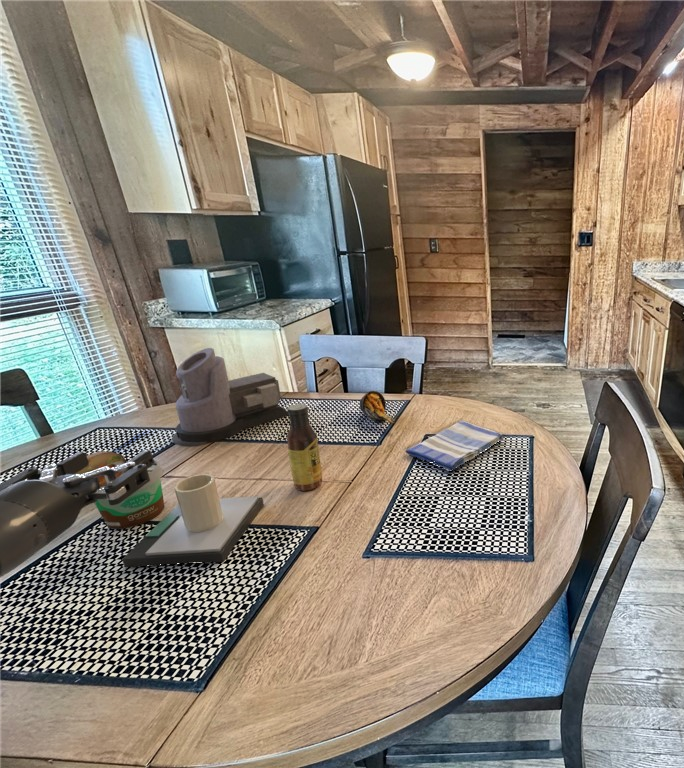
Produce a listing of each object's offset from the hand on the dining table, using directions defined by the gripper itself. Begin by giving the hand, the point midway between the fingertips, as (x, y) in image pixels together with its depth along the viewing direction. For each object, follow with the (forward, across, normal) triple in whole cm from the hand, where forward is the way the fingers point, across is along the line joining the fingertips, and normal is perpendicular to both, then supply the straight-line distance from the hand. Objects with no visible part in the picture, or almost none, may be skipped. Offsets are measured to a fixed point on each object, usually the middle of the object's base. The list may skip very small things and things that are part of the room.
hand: (117, 457), depth 60 cm
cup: (+14, 0, +22) cm, 26 cm away
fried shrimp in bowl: (+66, -24, +25) cm, 75 cm away
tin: (+30, +32, +25) cm, 51 cm away
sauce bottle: (+30, -14, +25) cm, 42 cm away
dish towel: (+46, -49, +25) cm, 72 cm away
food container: (+20, +15, +25) cm, 36 cm away
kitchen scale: (+14, +1, +25) cm, 29 cm away
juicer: (+65, +19, +25) cm, 72 cm away
